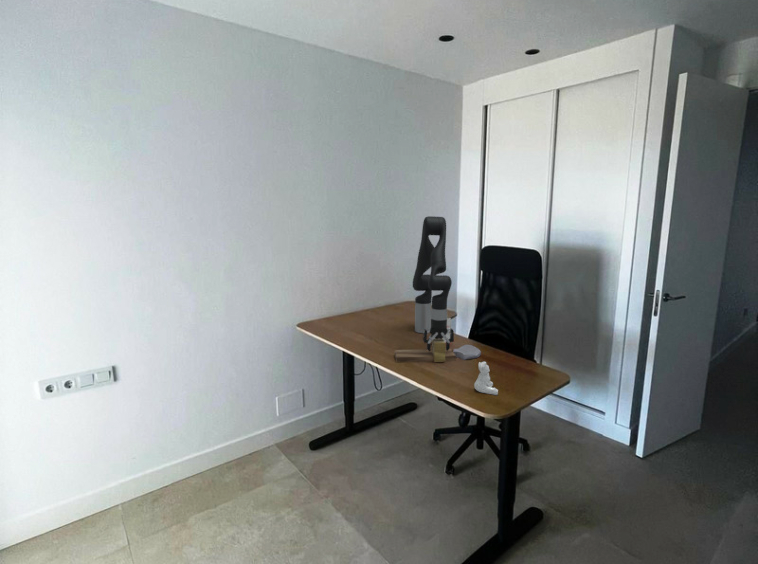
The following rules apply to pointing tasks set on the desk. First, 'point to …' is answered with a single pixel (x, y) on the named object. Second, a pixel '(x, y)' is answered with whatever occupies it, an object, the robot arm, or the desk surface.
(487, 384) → the seated beast figurine
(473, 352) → the stone block
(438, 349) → the wooden mallet
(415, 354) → the board
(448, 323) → the ink cartridge box
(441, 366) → the desk surface
